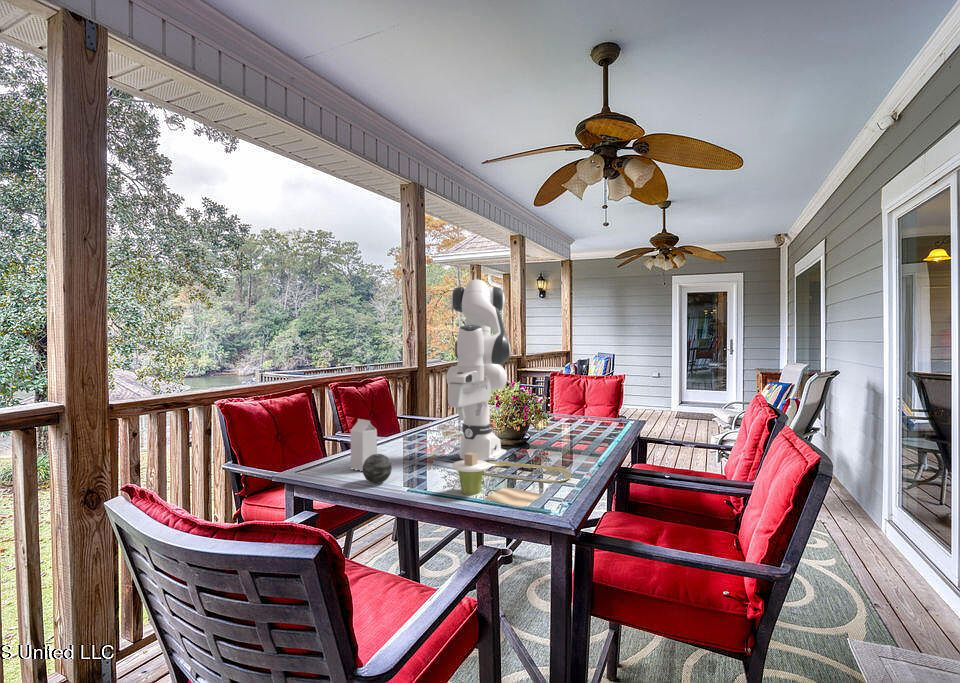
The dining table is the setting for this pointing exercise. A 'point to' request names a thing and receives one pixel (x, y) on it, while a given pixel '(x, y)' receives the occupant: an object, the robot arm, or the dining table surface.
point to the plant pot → (471, 482)
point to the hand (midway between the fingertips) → (470, 417)
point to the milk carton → (362, 443)
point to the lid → (470, 464)
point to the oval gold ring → (529, 467)
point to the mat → (513, 497)
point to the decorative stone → (377, 468)
